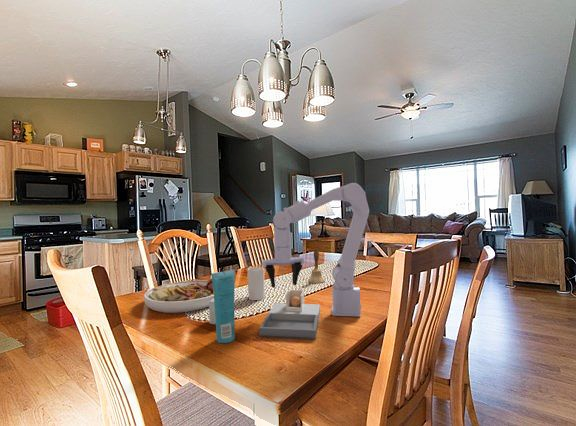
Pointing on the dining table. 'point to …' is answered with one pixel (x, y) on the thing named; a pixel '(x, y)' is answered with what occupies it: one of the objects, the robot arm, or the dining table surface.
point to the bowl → (180, 296)
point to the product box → (212, 312)
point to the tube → (224, 305)
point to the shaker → (290, 295)
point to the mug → (256, 283)
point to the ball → (295, 301)
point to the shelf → (295, 312)
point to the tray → (288, 328)
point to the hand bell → (316, 270)
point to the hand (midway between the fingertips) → (284, 285)
